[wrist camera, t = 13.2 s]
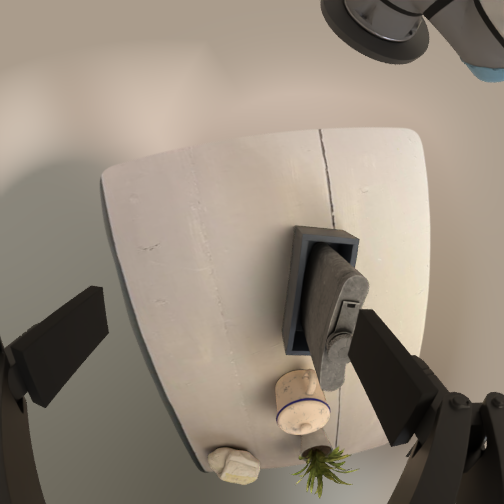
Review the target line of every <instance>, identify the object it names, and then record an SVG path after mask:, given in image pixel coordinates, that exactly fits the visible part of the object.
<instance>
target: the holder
mask: <svg viewBox="0 0 504 504" xmlns="http://www.w3.org/2000/svg"><path fill="white" fill-rule="evenodd" d="M317 242H325V243H326V244H328V245H329V246H330V247H331V248H332V249H333V250H335V251H336V252H337V253H338V254H339V255H340V256H341V257H343V258H344V259H345V260H346V261H347V262H348V263H349V264H351V265H352V266H353V267H354V268H355V264H356V258H357V252H358V245H359V239H358V238H356V237H355V236H353V235H351V234H349V233H347V232H346V231H344V230H337V229H327V228H317V227H306V226H295V229H294V239H293V248H292V257H291V265H290V273H289V282H288V290H287V297H286V305H285V312H284V319H283V326H282V336H283V341H284V347H285V353H286V355H309V356H311V354H310V351H309V347H308V344H307V341H306V337H305V334H304V331H303V328H302V325H301V316H300V306H301V293H302V285H303V279H304V274H305V269H306V265H307V261H308V258H309V255H310V252H311V249H312V246H313V245H314V244H315V243H317Z"/></svg>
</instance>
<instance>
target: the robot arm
mask: <svg viewBox="0 0 504 504" xmlns="http://www.w3.org/2000/svg"><path fill="white" fill-rule="evenodd" d="M343 4H344V8H345V10H346V12H347V14H348V15H349V17H350V18H351V19H352V20H353V21H354V22H355V23H356V24H357V25H358V26H359V27H360V28H361V29H363V30H364V31H366V32H367V33H369V34H370V35H372V36H374V37H376V38H378V39H381V40H383V41H387V42H391V43H403V42H406V41H408V40H409V39H411V38H412V37H413V36H414V35H415V33H416V32H417V29H418V27H419V25H420V24H419V23H421V22H420V20H421V17H422V15H424V16H425V17H426V18H427V19H428V20H429V21H430V22H431V23H432V25H434V27H435V28H436V29H437V30H438V31H439V32H440V33H441V34H442V36H443V37H444V38H445V39H446V40H447V41H448V42H449V44H450V45H451V46H452V47H453V49H454V50H455V51H456V52H457V54H458V55H459V56H460V59H461V60H462V62H464V64H466V65H467V67H468V68H469V69H470V70H471V72H472V73H473V74H474V75H475V76H476V77H477V78H478V79H480V80H482V81H485V82H501V81H504V0H343ZM421 21H422V20H421ZM108 333H109V332H108V325H107V319H106V311H105V304H104V295H103V288H102V287H97V286H90V287H89V288H87V289H85V290H84V291H83V292H81V293H80V294H78V295H77V296H76V297H74V298H73V299H71V300H70V301H69V302H67V303H66V304H64V305H63V306H62V307H60V308H59V309H58V310H56V311H55V312H54V313H52V314H51V315H50V316H48V317H47V318H46V319H44V320H43V321H42V322H40V323H38V324H35V325H33V326H32V327H31V328H30V329H28V330H27V332H25V333H23V334H22V336H19V337H18V338H17V339H16V340H14V341H13V342H12V343H11V344H9V345H8V346H7V347H6V348H4V346H3V343H2V340H1V338H0V504H46V503H45V500H44V497H43V493H42V490H41V486H40V482H39V478H38V474H37V470H36V466H35V461H34V456H33V450H32V445H31V438H30V431H29V423H28V413H27V402H26V399H25V397H24V395H25V394H26V393H27V392H28V393H29V395H30V397H31V399H32V401H33V402H34V403H36V404H38V405H40V406H42V407H44V408H46V407H47V406H48V404H49V403H50V402H51V401H52V400H53V398H54V397H55V396H56V395H57V393H58V392H59V391H60V390H61V388H62V387H63V386H64V384H66V382H67V381H68V380H69V379H70V377H71V376H72V375H73V374H74V373H75V372H76V370H77V369H78V368H79V367H80V366H81V364H82V363H83V362H84V361H85V360H86V359H87V357H88V356H89V355H90V354H91V353H92V351H93V350H94V349H95V348H96V347H97V346H98V345H99V343H100V342H101V341H102V340H103V339H104V338H105V337H106V336H107V334H108ZM348 357H349V359H350V361H351V363H352V365H353V367H354V369H355V371H356V373H357V375H358V377H359V379H360V381H361V383H362V385H363V387H364V389H365V391H366V394H367V396H368V398H369V400H370V402H371V404H372V406H373V408H374V410H375V413H376V415H377V417H378V419H379V421H380V423H381V426H382V428H383V430H384V432H385V434H386V436H387V439H388V441H389V443H390V445H391V447H392V446H397V445H401V444H406V443H408V442H409V440H410V439H411V437H412V436H413V434H414V433H415V435H416V437H417V438H418V440H417V441H416V443H415V444H414V446H413V447H412V449H411V450H410V451H409V453H408V454H407V455H406V457H409V455H410V457H409V459H408V461H407V464H406V466H405V468H404V471H403V473H402V475H401V477H400V479H399V482H398V484H397V486H396V488H395V490H394V492H393V494H392V496H391V498H390V499H389V501H388V503H387V504H504V395H503V394H501V393H497V392H491V393H489V394H487V396H486V398H485V399H484V401H483V403H471V401H470V400H469V398H467V397H466V396H465V395H463V394H461V393H457V392H451V393H450V392H449V391H448V390H447V389H446V387H445V386H444V385H443V384H442V383H441V381H440V380H439V379H438V378H437V376H436V375H434V373H433V372H432V370H431V369H429V367H428V365H427V364H426V363H425V362H424V361H423V360H422V359H420V358H419V357H417V356H416V355H410V353H409V352H408V351H407V350H406V348H405V347H404V346H403V345H402V344H401V342H400V341H399V340H398V339H397V338H396V336H395V335H394V334H393V333H392V332H391V330H390V329H389V328H388V327H387V326H386V325H385V323H384V322H383V321H382V320H381V319H380V318H379V316H378V315H377V314H376V313H375V312H374V311H373V309H359V312H358V317H357V321H356V325H355V329H354V333H353V336H352V340H351V344H350V348H349V351H348ZM486 441H487V447H486V449H485V447H484V444H485V442H486Z"/></svg>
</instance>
